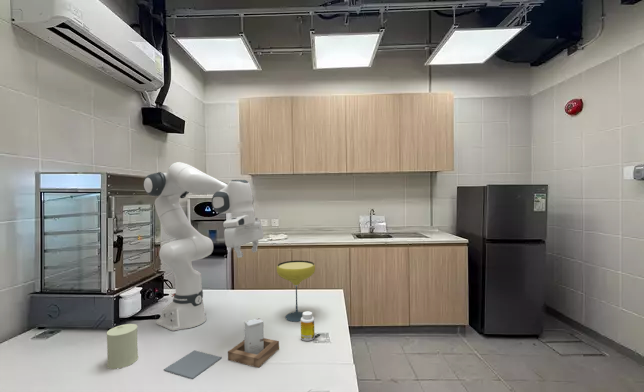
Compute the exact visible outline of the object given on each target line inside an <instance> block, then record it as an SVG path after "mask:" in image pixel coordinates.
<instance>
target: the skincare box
mask: <svg viewBox="0 0 644 392" xmlns="http://www.w3.org/2000/svg"><path fill="white" fill-rule="evenodd" d="M243 324H244V329H243V331H244V332H243V333H244V339H243V340H244V342H245V352H247V353H252V354H256V355H257V354H259V353H260V352H261V351H262V350H263V349H264V338H265V337H264V321H263V320H262V319H261V318H254V319H250V320H249V319H248V320H245V321H244V323H243Z"/></svg>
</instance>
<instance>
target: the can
mask: <svg viewBox="0 0 644 392" xmlns="http://www.w3.org/2000/svg"><path fill="white" fill-rule="evenodd" d="M106 345H107V346H106V351H107V360H106V361H107V364H106V367H107V368H108V369H109V370H118V369H117V368H119V369H123V368H122V367H124V368H126V366H127V367H130V366H131V365H133V364H134V363H136V362H137V361H138V359H139V353H138V324H136V323H126V324H121V325H117V326H114V327H112V328H110V329H109V330H108V331H106Z"/></svg>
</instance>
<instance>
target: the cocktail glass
mask: <svg viewBox="0 0 644 392" xmlns="http://www.w3.org/2000/svg"><path fill="white" fill-rule="evenodd" d="M315 271H316V265H315V263H314V262H312V261H310V260H309V261H308V260H289V261H282V262H280V263H278V264H277V265H276V272H277V275H278V276H279V277H280V278H282V279H283V280H286V281H289V282H291V283H292V285H293V286H294V287H295V310H294V311H292V312H290V313H288V314H286V315H285V320H286V321H288V322H295V323H297V322H301V318H302V316H303V315H302V314H303V312H304V311H299V307H298V286H299V285H301V283H302V282H303V281H305V280H307V279H308V278H310V277H312V275H314V274H315Z"/></svg>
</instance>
